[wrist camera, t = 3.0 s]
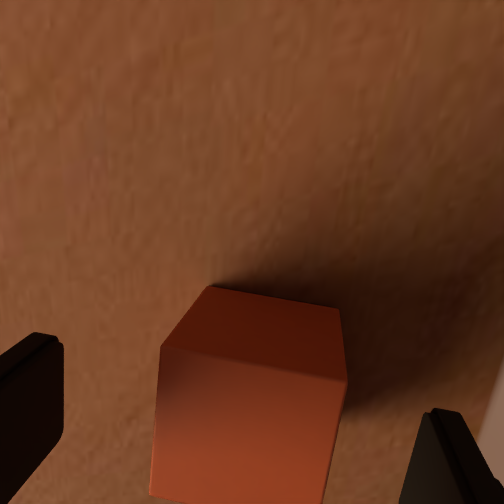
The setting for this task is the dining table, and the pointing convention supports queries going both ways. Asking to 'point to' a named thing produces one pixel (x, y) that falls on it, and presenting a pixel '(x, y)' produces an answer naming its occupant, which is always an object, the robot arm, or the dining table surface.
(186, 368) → the terracotta block
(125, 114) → the dining table surface
